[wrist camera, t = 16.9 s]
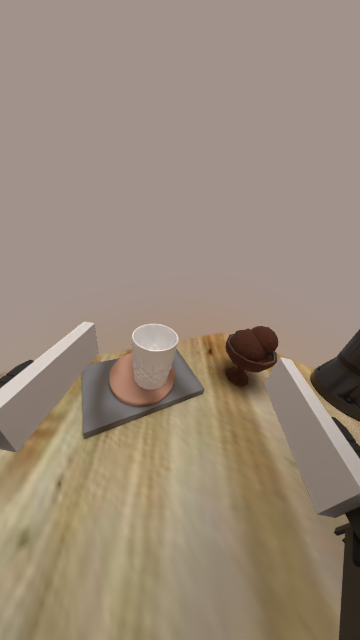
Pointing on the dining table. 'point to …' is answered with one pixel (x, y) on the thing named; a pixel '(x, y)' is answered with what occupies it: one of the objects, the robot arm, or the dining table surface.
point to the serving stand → (130, 393)
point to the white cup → (153, 354)
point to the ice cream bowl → (251, 352)
